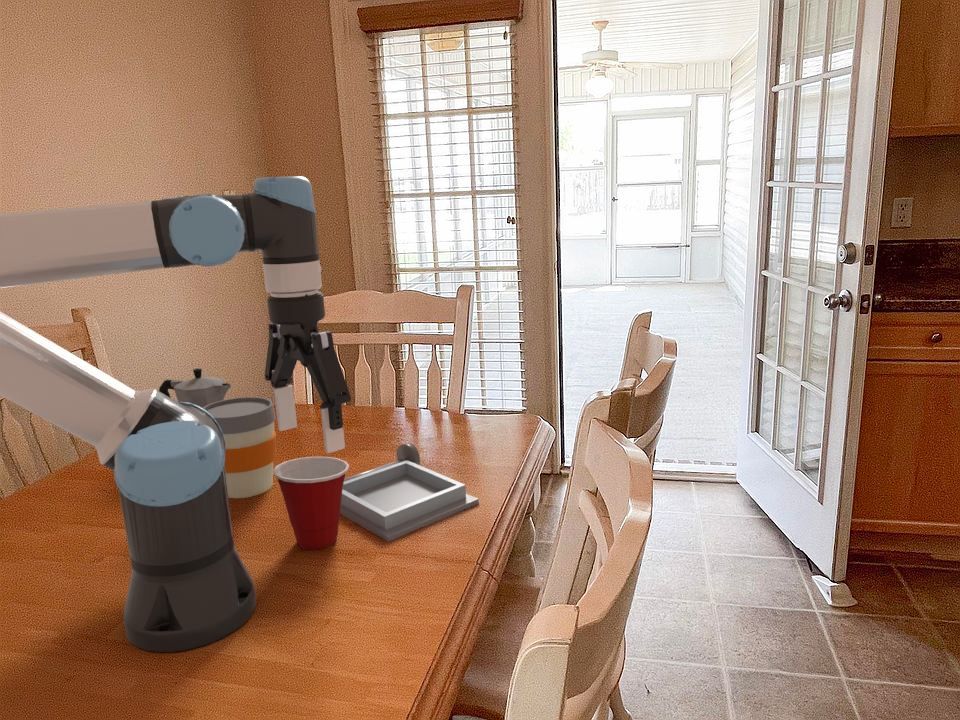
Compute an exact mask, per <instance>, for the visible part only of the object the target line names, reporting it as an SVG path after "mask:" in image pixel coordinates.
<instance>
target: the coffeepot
mask: <svg viewBox="0 0 960 720" xmlns="http://www.w3.org/2000/svg"><path fill="white" fill-rule="evenodd" d="M192 371H193V376H194V377H193V378H190V379H187V380H183V379H165V380H164V381H163V382H162V383H161V385H160V386H159V389H158V391H160V392H161V393H163V394H165V395H166V396H168V397H170V398H172V397H171V394H170V392H169V390H172V391H174V393H175V396H176V399H177V400H176V401H177V402H188V403H192V404H195V405H197V406H200V407H201V408H203V407H205V406H207V405H209V404H211V403H214V402H218V401H222V400H225V399H224V398H225V397H226V395H227V392H228V391H229V389H231V388H232V385H231V383H229V382H226V381H225V379H224V378H218V377H212V376H202V371H203V370H202V368H197V367H196V368H195V369H193V370H192Z"/></svg>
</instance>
